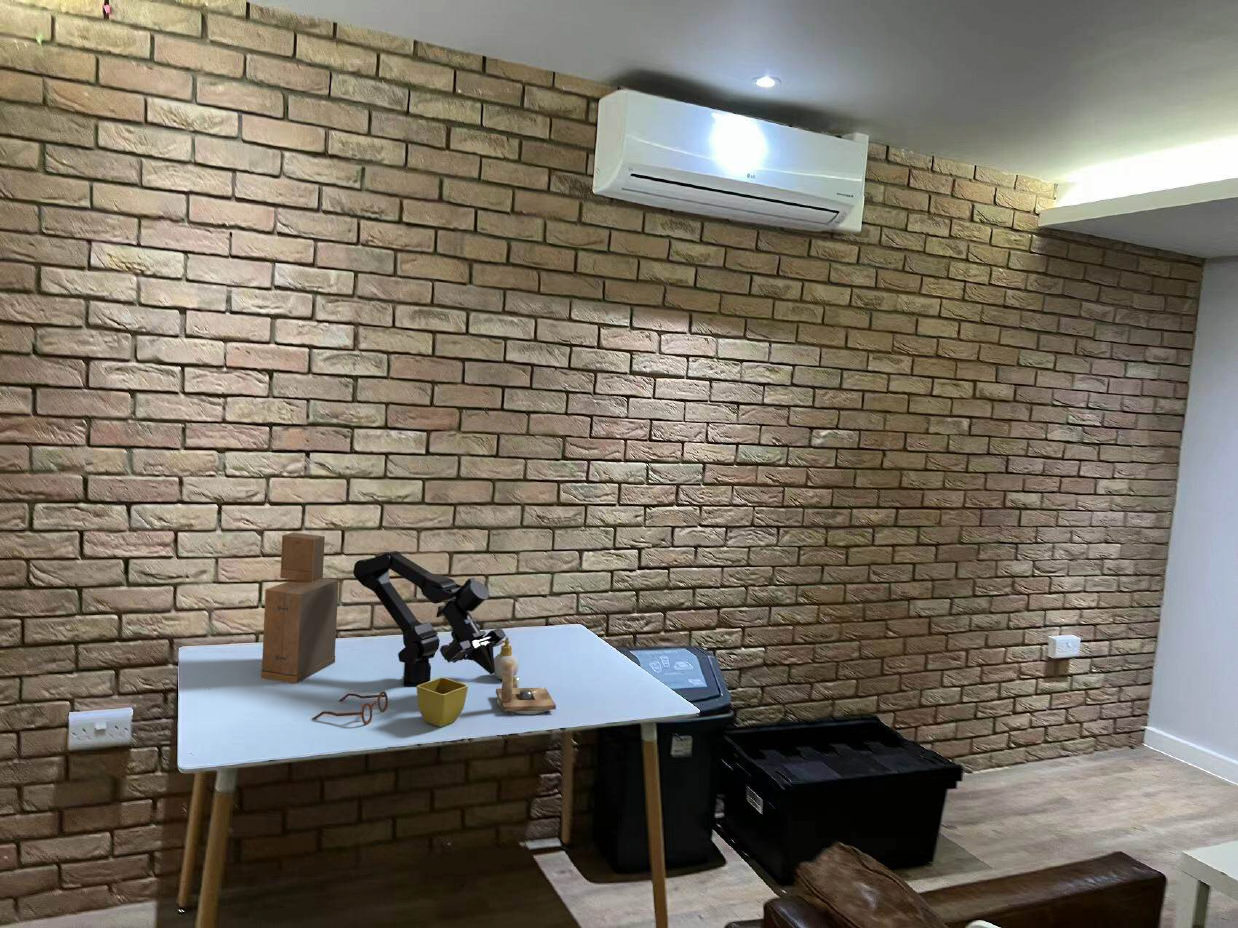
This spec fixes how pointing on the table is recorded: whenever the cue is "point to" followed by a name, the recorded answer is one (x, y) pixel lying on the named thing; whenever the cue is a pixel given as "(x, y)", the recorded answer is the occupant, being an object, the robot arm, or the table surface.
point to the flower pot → (441, 700)
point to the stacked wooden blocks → (300, 613)
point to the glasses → (362, 707)
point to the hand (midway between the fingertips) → (493, 673)
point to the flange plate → (511, 695)
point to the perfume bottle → (504, 655)
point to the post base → (523, 696)
